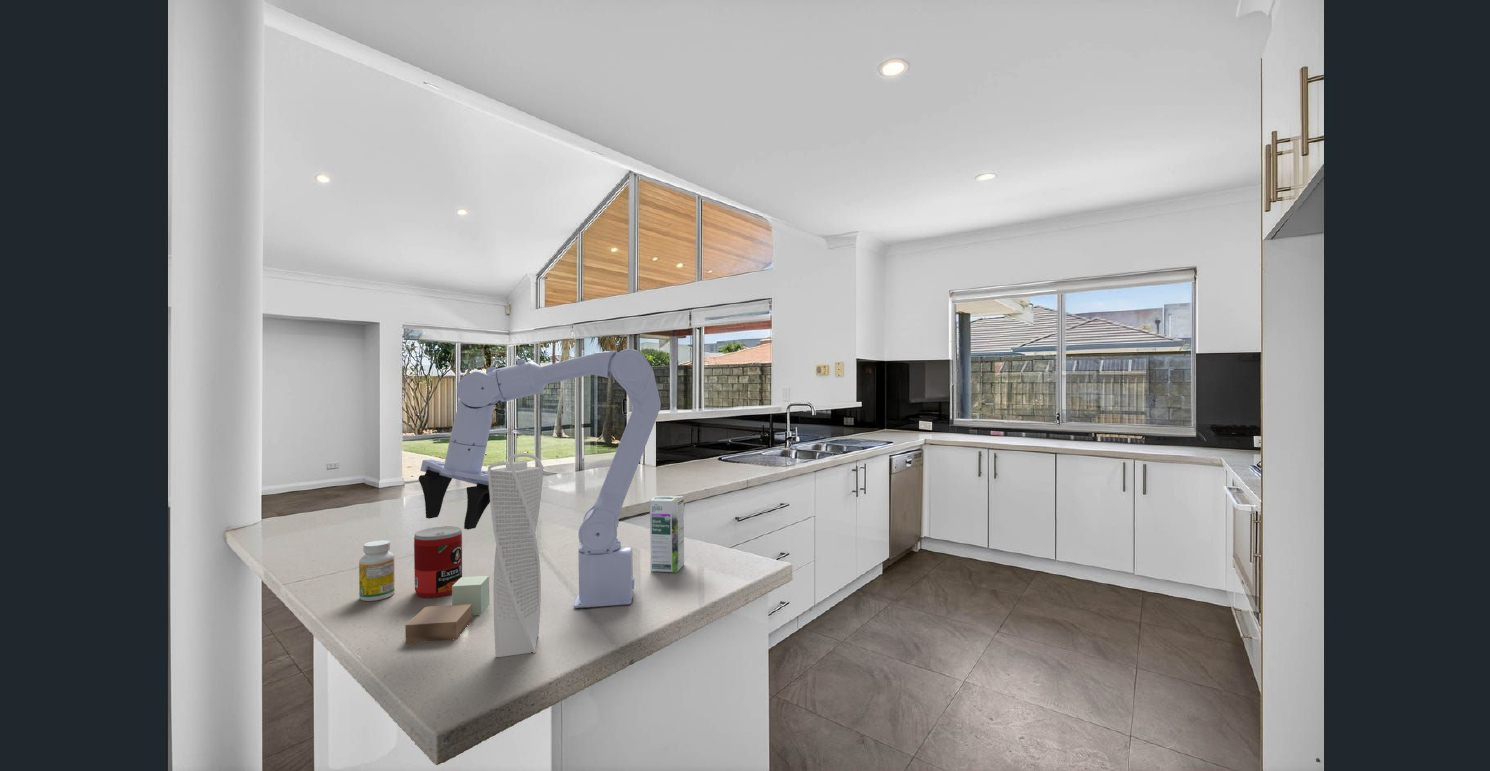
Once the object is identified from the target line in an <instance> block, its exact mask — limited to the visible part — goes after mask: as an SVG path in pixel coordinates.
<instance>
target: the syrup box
mask: <svg viewBox="0 0 1490 771" xmlns="http://www.w3.org/2000/svg"><path fill="white" fill-rule="evenodd" d="M684 506H685V505H684V495H683V496H682V495H681V496H680V495H679V496H677V495H676V496H674V495H673V496H671V495H668V496H667V495H665V496H664V495H656V496H654V497H653V498H651V499H650V501H649V524H650V525H649V528H650V535H649V536H650V540H649V541H650V564H649V565H650V572H651V573H654V572H657V573H658V572H659V573H660V572H661V573H678V572H679V571H680V570H681V569H682V567H683V566H684V564H685V526H684V525H685V524H684V523H685V520H684V518H685V517H684V516H685V511H684V510H685V509H684V508H685V507H684Z"/></svg>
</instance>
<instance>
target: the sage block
mask: <svg viewBox="0 0 1490 771" xmlns="http://www.w3.org/2000/svg"><path fill="white" fill-rule="evenodd" d="M463 604H472V616H479V615H478V614H481V615H482V614H483V613H484V612H485V611H486V610H487V608H488V607H489V606H490V575H478V576H477V575H476V576H462V577H461V578H460V579H459V580H458V581H457V582H456V583H455V584H454V585H453V586H452V594H451V605H463ZM484 610H485V611H484Z"/></svg>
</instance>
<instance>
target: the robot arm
mask: <svg viewBox="0 0 1490 771" xmlns="http://www.w3.org/2000/svg"><path fill="white" fill-rule="evenodd" d="M617 351H618V350H609V351H608V350H607V351H601V352H600V351H599V352H593V353H590V354H586V355H582V356H578V357H574V358H570V359H566V360H563V361H559V362H554V363H552V364H547V365H543V366H542V365H539V364H538V363H537V362H535V361H532V360H531V361H527V360H526V359H519V360H516V364H513V365H507V366H505V367H499V368H496V367H495V366H492V367H487V373H484V372H482V371H472V372H471V373H469V374H468V373H467V374H466V375H464V376H463V377H461V379H460V380H459V382H458V383H457V387H456V393H457V394H456V395H457V396H458V399H459V400H458V404H457V407H456V412H455V414H454V419H453V424H452V429H451V433H450V437H449V442H448V446H447V451H446V456H445V459H444V461H441V460H440V461H439V460H435V459H422V463H421V467H420V472H422V473H423V472H424V474H421V475H419V477H418V482H419V484H420V486H421V490H422V493H423V497H424V506H425V508H424V509H425V519H429V520H430V519H434V518H438V517H439V515H440V513H441V511H442V510H441V509H442V505H443V502H444V498H445V495H446V493H447V490H448V488H449V486H450V483H451V481H452V479H454V480H458V481H462V482H466V483H470V484H473V485H474V486H468V487H466V497H467V500H466V501H467V503H466V513H465V517H464V523H463V524H464V526H463V529H464V530H467V531H468V530H473V529H476V528H477V525H478V524H479V522H480V520H481V518H482V515H483V513H484V512H485V510H486V508H487V507H488V506H489V504H490V494H489V480H488V471H484V470H483V464H484V459H485V455H486V450H487V445H488V441H489V437H490V431H491V428H492V422H493V414H494V410H495V406H496V404H497V403H498V402H499V401H500V402H508V401H513V400H517V399H518V400H519V399H521V398H527V397H530V396H533V395H539V394H541V393H542V392H543V391H544V388H545V387H546V386H547V385H549V384H551V383H557V382H561V381H567V380H568V381H569V380H572V379H576V378H583V377H586V376H593V375H594V376H598V377H602V378H607V379H610V376H611V375H612V377H613V379H614V380H615V381H616V382H617V383H618V385H620V386H621V387H622V389H624V391H625V392H626V395H627V397H628V399H629V402H630V403H631V405H632V411H631V413H630V415H629V419H628V420H627V424H626V426H625V428H624V431H623V434H622V435H621V439H620V441H619V444H618V446H617V448H616V451H615V454H614V455H613V458H612V461H611V464H610V465H609V469H608V471H607V474H606V476H605V478H604V481H603V483H602V486H601V489H600V491H599V494H598V496H597V498H596V500H595V503H594V504H593V506H592V507H590V508H589V509H588V510H587V511H586V513H585V514H584V516H583V521H582V523H581V525H580V527H579V530H578V539H579V543H580V545H579V546H578V552H577V553H578V593H577V596H576V598H575V601H574V604H573V608H575V609H579V608H582V609H583V608H594V607H608V606H624V605H631V604H632V601H633V600H632V598H633V593H634V589H635V578H634V568H633V567H634V563H633V562H634V561H633V560H634V558H633V555H634V554H633V547H632V546H623V545H622V544H621V543H622V542H621V541H619V539H618V538H617V537H618V528H619V522H620V521H619V520H620V519H619V517H620V514H621V511H622V508H623V505H624V501H625V499H626V497H627V494H628V491H629V489H630V487H631V484H632V481H633V479H634V476H635V473H636V471H637V469H638V466H639V463H640V461H641V458H642V456H643V454H644V451H645V449H646V446H647V444H648V441H649V439H650V436H651V433H652V430H653V428H654V426H655V423H656V421H657V418H658V417H659V416H658V415H659V414H660V413H659V412H660V410H661V405H662V404H661V403H662V402H661V398H660V395H659V390H658V386H657V381H656V376H655V373H654V369H653V367H652V365H651V364H650V363H649V361H648V360H647V358H646V356H645V355H644V354H643V353H642V352H641V351H639V350H636V349H633V348H626V349H622V350H619V351H618V352H617ZM475 485H476V486H475Z"/></svg>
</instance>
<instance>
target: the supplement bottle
mask: <svg viewBox="0 0 1490 771" xmlns="http://www.w3.org/2000/svg"><path fill="white" fill-rule="evenodd" d="M390 549H391V541H390V540H386V539H385V540H382V539H381V540H374V541H373V540H372V541H369V542H365V543H364V544H363V549H362V550H363V553H364V555H362V556H361V557H360V559H359V562H358V564H359V565H358V571H359V572H358V574H359V575H358V576H359V577H358V578H359V580H358V581H359V582H358V584H359V586H358V587H359V588H358V589H359V591H358V592H359V599H360V600H361V601H364V602H375V601H381V600H384V599H387V598H388V599H389V597H391V596H393V595H394V593H395V591H396V586H395V585H396V584H395V583H396V582H395V581H396V580H395V577H396V576H395V555H394V553H393V552H392V551H390Z"/></svg>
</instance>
